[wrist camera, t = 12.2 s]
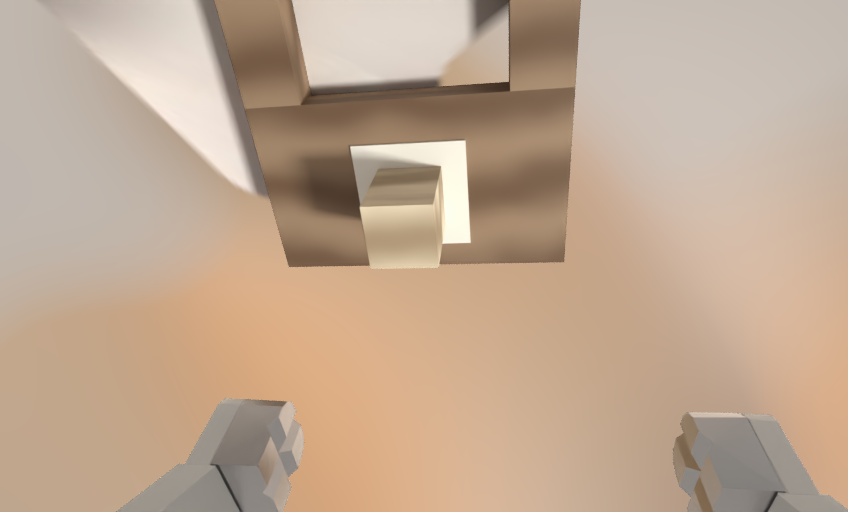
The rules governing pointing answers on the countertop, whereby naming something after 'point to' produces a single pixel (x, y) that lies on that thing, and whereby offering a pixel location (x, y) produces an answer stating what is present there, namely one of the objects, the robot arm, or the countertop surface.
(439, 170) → the ash block
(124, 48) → the countertop surface
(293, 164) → the pocket board
